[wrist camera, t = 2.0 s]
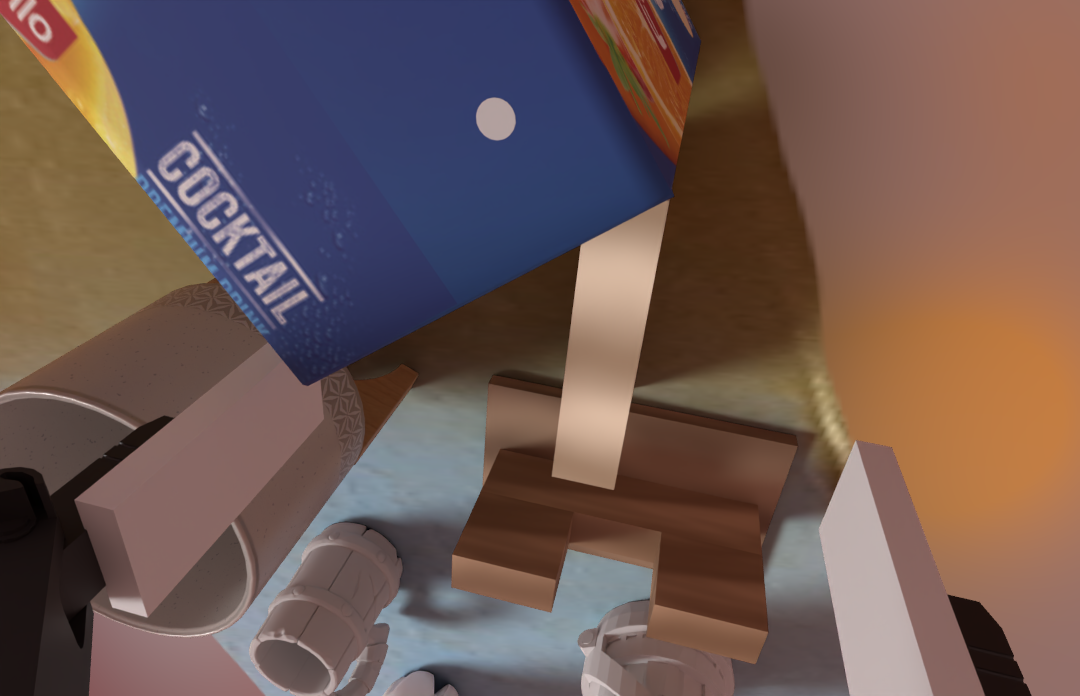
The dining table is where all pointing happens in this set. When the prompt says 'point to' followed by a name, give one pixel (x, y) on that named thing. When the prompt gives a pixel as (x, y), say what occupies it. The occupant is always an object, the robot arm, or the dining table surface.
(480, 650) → the dining table surface
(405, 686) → the water bottle
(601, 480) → the notched wooden board
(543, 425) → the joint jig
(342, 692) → the mug
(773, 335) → the dining table surface
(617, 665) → the lantern
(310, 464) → the planter
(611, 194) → the juice carton
